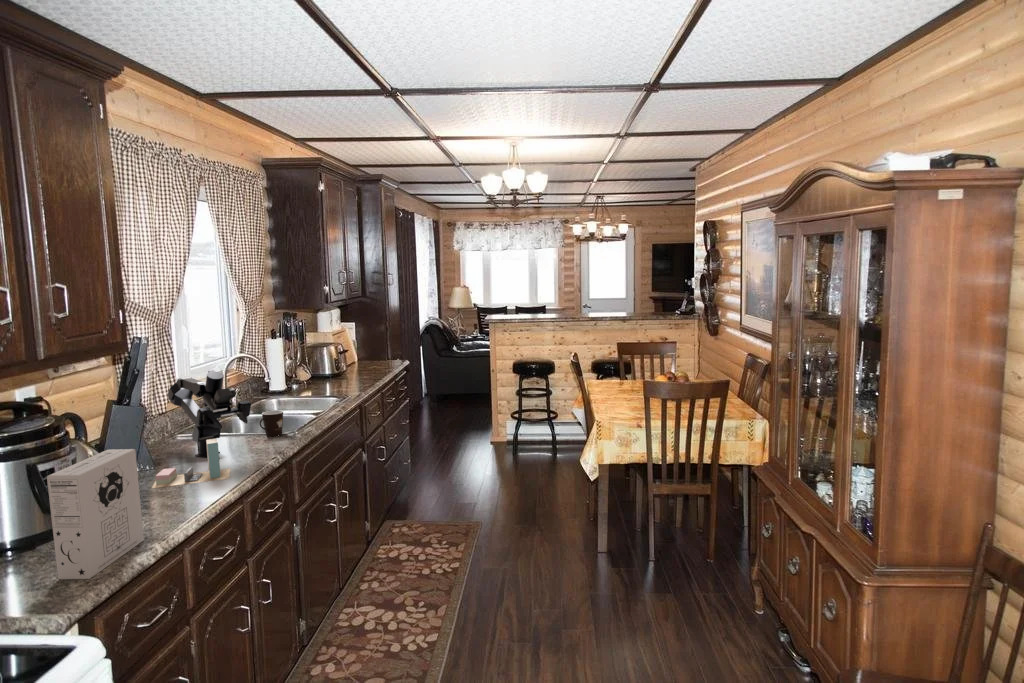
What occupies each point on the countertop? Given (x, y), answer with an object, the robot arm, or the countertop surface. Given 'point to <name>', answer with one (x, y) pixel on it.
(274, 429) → the coffee mug
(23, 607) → the countertop surface
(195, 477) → the metal bookend
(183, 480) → the shelf plank
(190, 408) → the robot arm
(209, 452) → the boxed book
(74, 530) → the cereal box
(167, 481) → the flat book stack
